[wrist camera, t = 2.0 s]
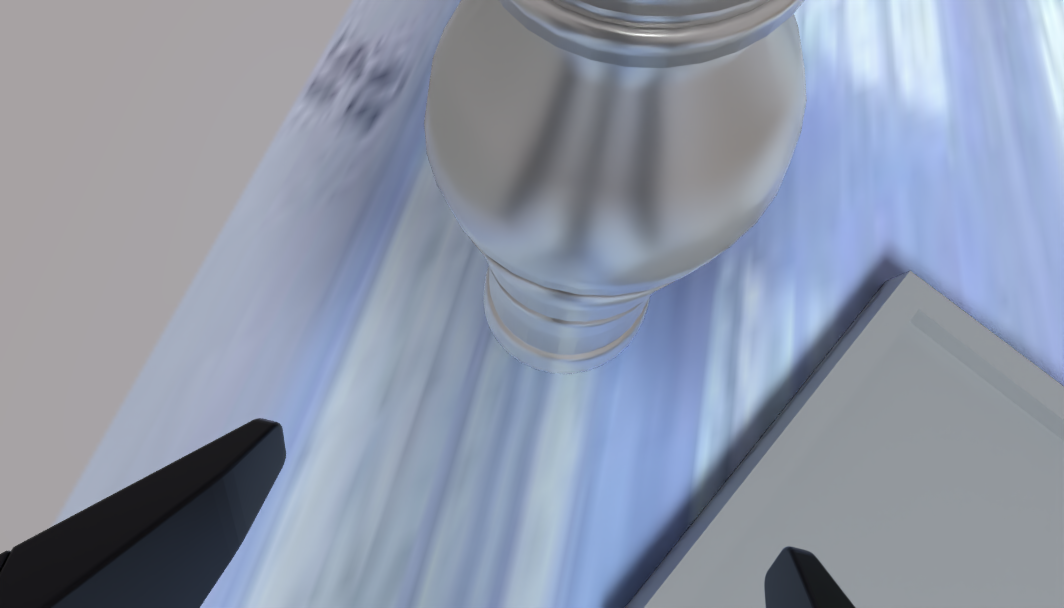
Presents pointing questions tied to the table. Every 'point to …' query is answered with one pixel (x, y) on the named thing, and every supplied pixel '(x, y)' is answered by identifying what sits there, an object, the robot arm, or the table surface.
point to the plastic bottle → (607, 153)
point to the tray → (895, 474)
